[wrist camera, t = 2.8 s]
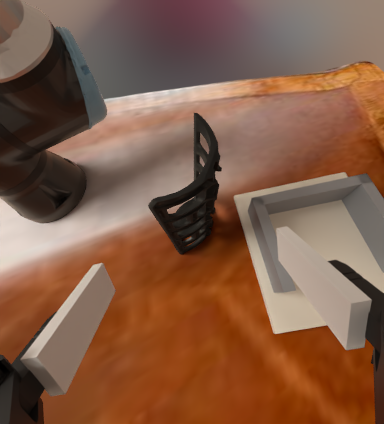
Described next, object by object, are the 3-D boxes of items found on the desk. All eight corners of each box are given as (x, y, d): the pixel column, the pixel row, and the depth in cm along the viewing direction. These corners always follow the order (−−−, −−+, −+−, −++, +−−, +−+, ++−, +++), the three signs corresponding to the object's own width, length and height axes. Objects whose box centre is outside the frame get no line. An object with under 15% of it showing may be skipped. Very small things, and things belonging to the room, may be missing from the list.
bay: (233, 198, 36) (236, 181, 30) (341, 175, 34) (364, 152, 29) (273, 332, 27) (286, 342, 21) (421, 307, 25) (476, 311, 20)
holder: (176, 197, 37) (151, 107, 19) (214, 200, 37) (227, 110, 18) (167, 253, 33) (124, 209, 15) (209, 257, 33) (222, 218, 14)
